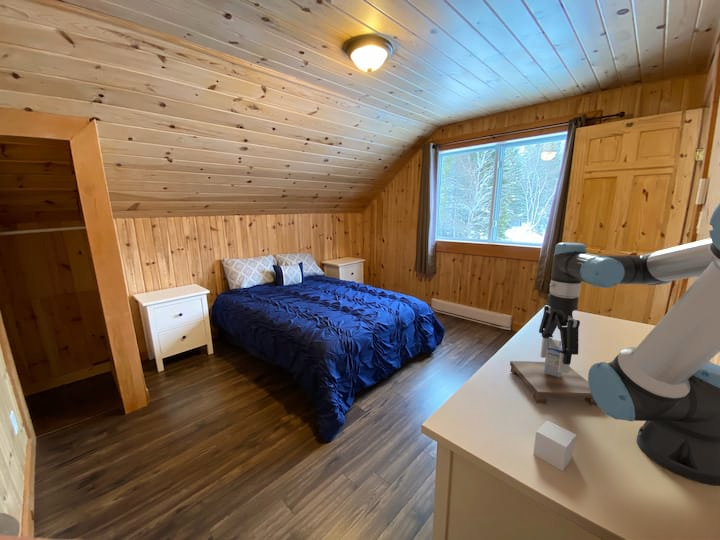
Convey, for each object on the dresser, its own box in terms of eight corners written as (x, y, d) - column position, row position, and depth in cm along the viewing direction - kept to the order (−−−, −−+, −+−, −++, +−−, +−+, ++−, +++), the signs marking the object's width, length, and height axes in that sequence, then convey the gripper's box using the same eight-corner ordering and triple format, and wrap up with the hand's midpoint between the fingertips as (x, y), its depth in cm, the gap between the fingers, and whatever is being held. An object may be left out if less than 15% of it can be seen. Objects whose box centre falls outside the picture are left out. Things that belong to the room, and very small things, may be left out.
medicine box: (544, 362, 100) (548, 338, 98) (561, 366, 98) (564, 341, 96) (543, 373, 93) (547, 347, 92) (561, 378, 91) (565, 351, 89)
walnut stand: (600, 406, 87) (602, 393, 87) (536, 404, 88) (538, 391, 87) (562, 373, 105) (564, 362, 104) (509, 371, 106) (510, 361, 105)
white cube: (572, 457, 69) (576, 434, 68) (562, 471, 66) (566, 447, 65) (543, 442, 74) (547, 420, 73) (533, 454, 70) (536, 431, 69)
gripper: (532, 285, 101) (524, 348, 106) (573, 306, 80) (562, 383, 85) (555, 285, 101) (546, 349, 106) (603, 306, 80) (590, 384, 84)
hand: (553, 364), depth 95 cm, fingers closed on medicine box, 9 cm apart
